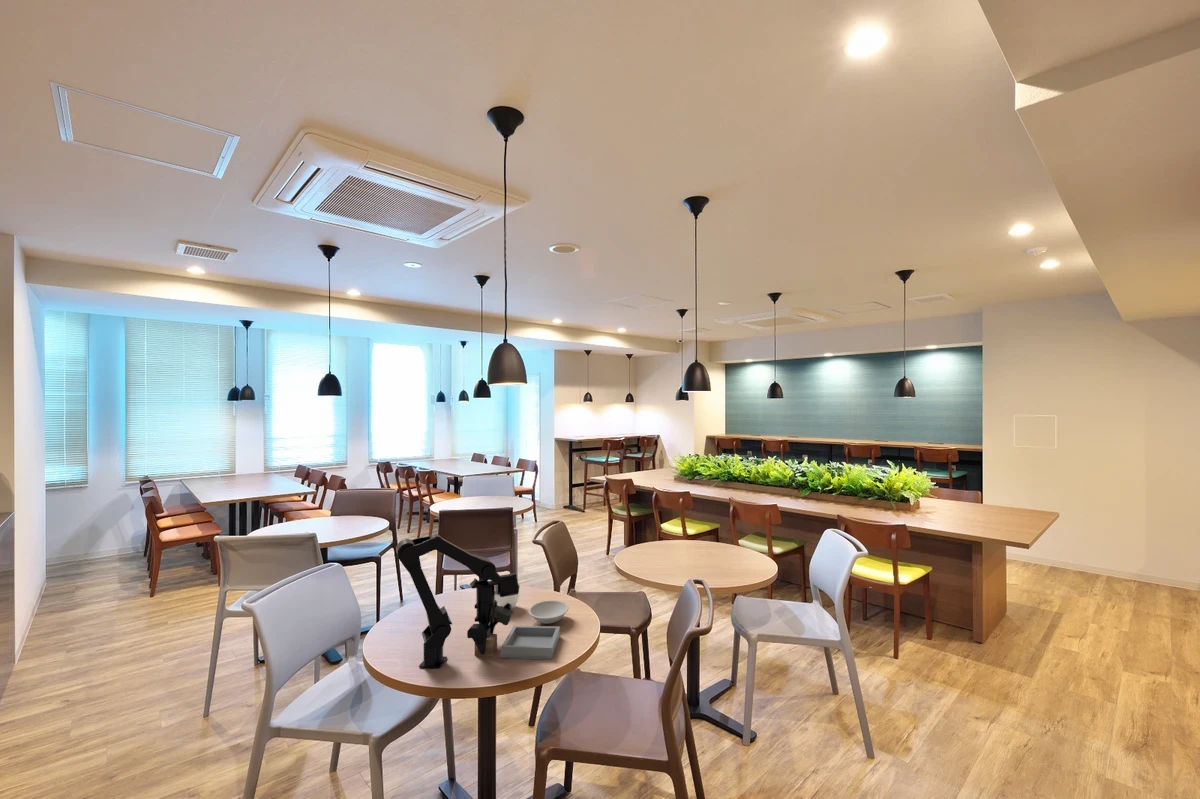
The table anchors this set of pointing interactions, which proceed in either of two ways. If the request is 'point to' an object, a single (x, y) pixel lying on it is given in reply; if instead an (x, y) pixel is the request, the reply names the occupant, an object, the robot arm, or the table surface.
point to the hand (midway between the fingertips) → (486, 648)
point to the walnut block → (489, 646)
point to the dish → (548, 611)
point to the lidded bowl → (507, 599)
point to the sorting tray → (531, 642)
